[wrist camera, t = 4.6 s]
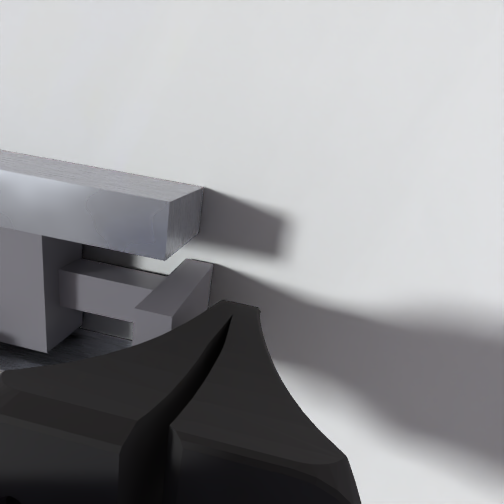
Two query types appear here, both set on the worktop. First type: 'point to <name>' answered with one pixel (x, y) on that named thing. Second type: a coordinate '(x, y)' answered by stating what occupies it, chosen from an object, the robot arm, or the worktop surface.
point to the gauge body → (92, 228)
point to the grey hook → (88, 292)
